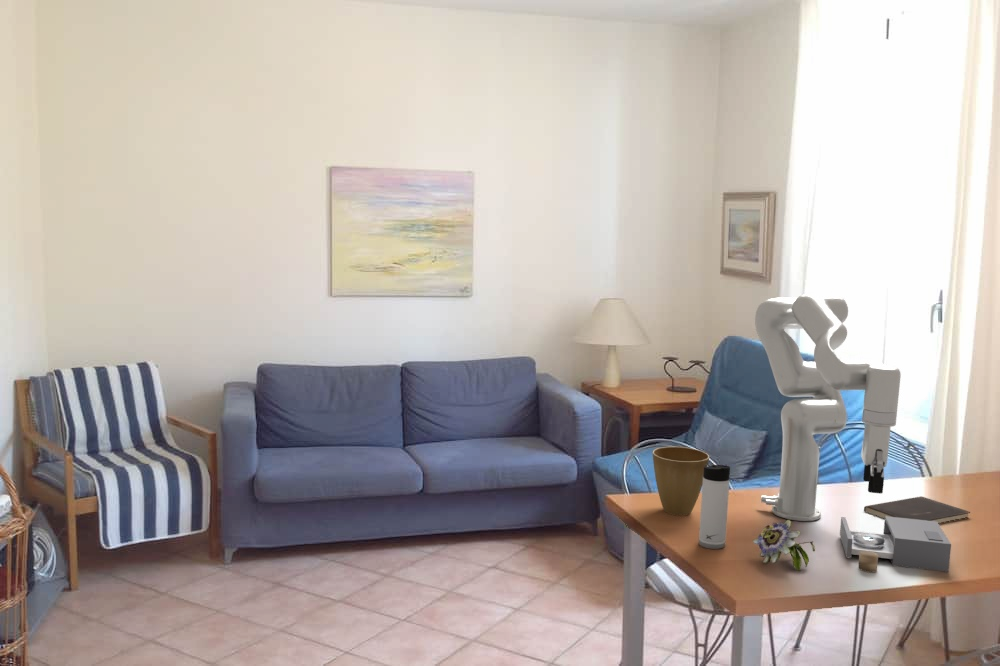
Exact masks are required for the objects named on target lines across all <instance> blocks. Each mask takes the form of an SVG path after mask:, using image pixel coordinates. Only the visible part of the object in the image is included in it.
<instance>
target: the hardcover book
mask: <svg viewBox="0 0 1000 666" xmlns="http://www.w3.org/2000/svg"><path fill="white" fill-rule="evenodd" d="M864 511H865V513H868V512H869V513H868V514H870V515H874V516H876V515H877V517H880V518H882V519H885V516H889V517H898V518H908V519H918V520H927V521H937V522H938V523H939V524H942V523H941V522H944V523H946V522H945V521H949V522H951V521H950V520H954V521H956V520H955V519H959V520H961V519H960V518H964V517H968V518H969V514H971V511H968V510H966V509H962V508H959V507H956V506H952V505H950V504H948V503H947V504H946V503H944V502H942V501H941V502H940V501H938V500H933V499H931V498H928V497H925V496H916V497H909V498H904V499H897V500H893V501H887V502H886V501H885V502H881V503H876V504H870V505H865V506H864V507H863V512H864Z"/></svg>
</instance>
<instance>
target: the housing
mask: <svg viewBox="0 0 1000 666" xmlns="http://www.w3.org/2000/svg"><path fill="white" fill-rule="evenodd" d="M882 534H888V535H892V536H893V538H894V549H893V559H889V560H890V563H891V565H892V566H893V567H895V566H896V567H903V568H913V569H921V570H929V571H937V572H938V571H939V572H946V573H947V572H948V573H949V570H950V569H949V568H950V560H951V559H950V558H951V551H952V543H951V542H950V540H949V538H948V537H947V535H946V534H945V532H944V531H943V529H942V527H941V525H940V523H939V524H938V522H937V521H927V520H918V519H908V518H898V517H889V516H885V518H884V525H883V533H882Z"/></svg>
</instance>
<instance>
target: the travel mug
mask: <svg viewBox="0 0 1000 666" xmlns="http://www.w3.org/2000/svg"><path fill="white" fill-rule="evenodd" d="M730 473H731V467H730V466H728V465H723V464H712V465H709V466H704V474H703V484H702V488H701V501H700V502H701V503H700V504H701V505H700V518H699V519H700V520H699V533H698V535H699V536H698V545H699V546H700V547H702V548H706V549H709V550H710V549H711V550H721V549H723V548H725V547H726V539H727V538H726V537H727V523H728V522H727V521H728V507H729V494H730V476H731V475H730Z"/></svg>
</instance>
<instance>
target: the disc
mask: <svg viewBox="0 0 1000 666" xmlns="http://www.w3.org/2000/svg"><path fill="white" fill-rule="evenodd" d="M870 533H871V532H870ZM870 533H856V534H854V536H853V543H854V544H855V545H857V546H859V547H863V548H867V549H881V548H883V547H884V538H882V537H880V536H878V535H875V534H870Z"/></svg>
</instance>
